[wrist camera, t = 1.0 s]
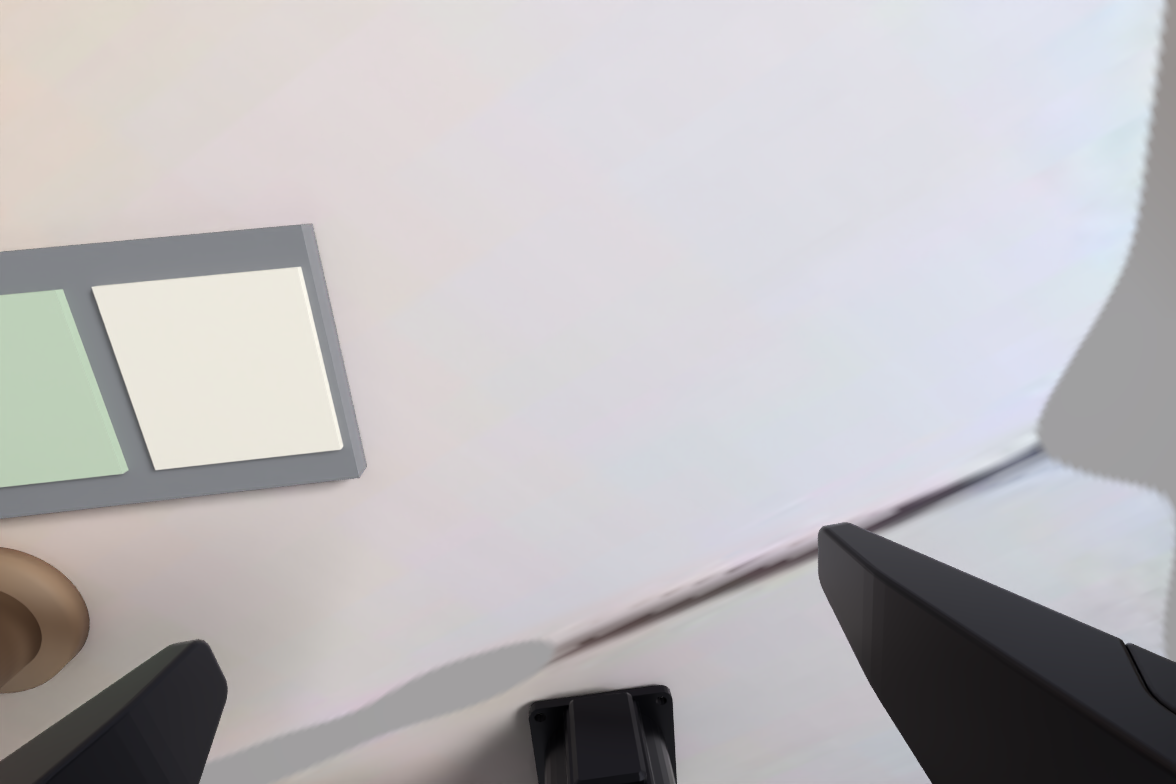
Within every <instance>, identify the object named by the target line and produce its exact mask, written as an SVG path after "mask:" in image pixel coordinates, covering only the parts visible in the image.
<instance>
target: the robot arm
mask: <svg viewBox="0 0 1176 784" xmlns="http://www.w3.org/2000/svg"><path fill="white" fill-rule="evenodd" d="M818 574H819V580H820V583H821V586H822V589H823V591H824V593H825V595H826V597H827V599H828V601H829V603H830V605H831V607H832V609H833V611H834V613H835V615H836V617H837V619H838V621H839V623H840V625H841V627H842V629H843V631H844V633H845V635H846V637H847V639H848V641H849V644H850V646H851V648H852V650H853V652H854V654H855V656H856V658H857V660H858V662H859V664H860V666H861V668H862V670H863V672H864V674H865V675H866V677H867V679H868V681H869V683H870V685H871V687H872V688H873V690H874V692H875V693H876V695H877V697H878V698H879V700H880V702H881V703H882V705H883V706H884V708H885V709H886V711H887V713H888V714H889V716H890V717H891V719H892V721H893V722H894V724H895V725H896V727H897V729H898V730H899V732H900V733H901V735H902V736H903V738H904V740H905V741H906V743H907V744H908V746H909V748H910V749H911V751H912V752H913V754H914V755H915V757H916V759H917V760H918V762H919V763H920V765H921V767H922V768H923V770H924V771H925V773H926V775H927V776H928V778H929V779H930V781H931V782H932V784H1176V662H1173V661H1171V660H1169V659H1166V658H1164V657H1162V656H1159V655H1157V654H1155V653H1153V652H1150V651H1148V650H1146V649H1143V648H1141V647H1139V646H1136V645H1134V644H1131V643H1127V644H1126V645H1125V644H1124V642H1123V641H1122V640H1121V639H1119V638H1117V637H1115V636H1113V635H1110V634H1108V633H1106V632H1103V631H1101V630H1099V629H1096V628H1094V627H1092V626H1089V625H1087V624H1085V623H1082V622H1080V621H1078V620H1075V619H1073V618H1071V617H1068V616H1066V615H1064V614H1061V613H1059V612H1057V611H1054V610H1052V609H1050V608H1047V607H1045V606H1043V605H1040V604H1038V603H1036V602H1033V601H1031V600H1029V599H1026V598H1024V597H1022V596H1019V595H1017V594H1015V593H1012V592H1010V591H1008V590H1005V589H1003V588H1001V587H998V586H996V585H994V584H991V583H989V582H987V581H984V580H982V579H980V578H977V577H975V576H973V575H970V574H968V573H966V572H963V571H961V570H959V569H956V568H954V567H952V566H949V565H947V564H945V563H942V562H940V561H937V560H935V559H933V558H931V557H928V556H926V555H923V554H921V553H919V552H917V551H914V550H912V549H910V548H907V547H905V546H902V545H900V544H898V543H896V542H893V541H891V540H888V539H886V538H884V537H882V536H879V535H877V534H874V533H872V532H870V531H867V530H865V529H863V528H860V527H858V526H856V525H853V524H851V523H847V522H844V523H838V524H832V525H827V526H823V527H822V528H821V529H820V530H819V533H818ZM227 692H228V688H227V681H226V679H225V677H224V675H223V673H222V670H221V668H220V666H219V664H218V662H217V660H216V658H215V656H214V654H213V652H212V650H211V648H210V646H209V645H208V643H206V642H205V641H204V640H199V639H196V640H191V641H185V642H180V643H175V644H172V645H169V646H168V647H166V648H164V649H163V650H162V651H160V652H159V653H157V654H156V655H154V656H153V657H151V658H150V659H148V660H147V661H146V662H144V663H143V664H141V665H140V666H138V667H137V668H135V669H134V670H132V671H131V672H130V673H128V674H127V675H125V676H124V677H122V678H121V679H119V680H118V681H116V682H115V683H114V684H112V685H111V686H109V687H108V688H106V689H105V690H103V691H102V692H100V693H99V694H98V695H96V696H95V697H93V698H92V699H90V700H89V701H87V702H86V703H84V704H83V705H82V706H80V707H79V708H77V709H76V710H74V711H73V712H71V713H70V714H68V715H67V716H66V717H64V718H63V719H61V720H60V721H58V722H57V723H55V724H54V725H52V726H51V727H50V728H48V729H47V730H45V731H44V732H42V733H41V734H39V735H38V736H36V737H35V738H34V739H32V740H31V741H29V742H28V743H26V744H25V745H23V746H22V747H20V748H19V749H18V750H16V751H15V752H13V753H12V754H10V755H9V756H7V757H6V758H4V759H3V760H2V761H0V784H199V781H200V779H201V776H202V773H203V770H204V767H205V763H206V760H207V757H208V754H209V751H210V748H211V745H212V742H213V739H214V736H215V733H216V730H217V727H218V724H219V721H220V718H221V715H222V712H223V709H224V706H225V703H226V699H227ZM661 696H662V698H658V697H661ZM538 713H543V714H541V715H538ZM529 722H530V729H531V735H532V742H533V748H534V755H535V762H536V768H537V775H538V781H539V784H677V776H676V758H675V739H674V720H673V702H672V696H671V693H670V689H669V688H668V687H666V686H664V685H657V686H650V687H643V688H635V689H628V690H621V691H613V692H606V693H599V694H591V695H584V696H576V697H569V698H562V699H554V700H547V701H540V702H536V703H534V704H532V705H531V707H530V708H529Z"/></svg>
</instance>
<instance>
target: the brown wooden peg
mask: <svg viewBox="0 0 1176 784" xmlns="http://www.w3.org/2000/svg"><path fill="white" fill-rule="evenodd" d="M88 632H89V615H88V610H87V607H86V604H85V602H84V600H83V598H82V596H81V594H80V593H79V591H78V590H77V588H76V587H75V586H74V585H73V584H72V582H71V581H70V580H69V579H68V578H67V577H66V576H64V575H63V574H62V573H61V572H60V571H58V570H57V569H56V568H54V567H53V566H51V565H50V564H48V563H46V562H45V561H43V560H41V559H39V558H36V557H34V556H32V555H29V554H27V553H24V552H21V551H17V550H13V549H8V548H2V547H0V693H14V692H20V691H25V690H28V689H32V688H35V687H37V686H39V685H41V684H43V683H45V682H47V681H48V680H50V679H51V678H52V677H54V676H55V675H56V674H57V673H58V672H59V671H60V670H61V669H62V668H63V667H64V666H65V665H66V664H67V663H68V662H69V661H71V660H72V659H73V658H74V657H75V656H76V655H77V653H78V652H79V651H80V650H81V649H82V647H83V645H84V644H85V642H86V639H87V636H88Z"/></svg>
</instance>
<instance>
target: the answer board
mask: <svg viewBox="0 0 1176 784" xmlns="http://www.w3.org/2000/svg"><path fill="white" fill-rule="evenodd" d="M366 467H367V464H366V460H365V456H364V451H363V447H362V442H361V438H360V433H359V429H358V424H357V420H356V415H355V411H354V407H353V402H352V398H351V393H350V389H349V384H348V380H347V375H346V371H345V366H344V362H343V358H342V353H341V349H340V344H339V340H338V335H337V331H336V326H335V322H334V317H333V313H332V309H331V304H330V300H329V295H328V291H327V286H326V282H325V277H324V273H323V269H322V264H321V260H320V255H319V251H318V246H317V242H316V237H315V233H314V228H313V224H301V225H290V226H279V227H268V228H257V229H246V230H235V231H224V232H213V233H202V234H191V235H180V236H169V237H158V238H147V239H136V240H125V241H114V242H103V243H92V244H81V245H70V246H59V247H48V248H37V249H26V250H15V251H4V252H0V519H2V518H11V517H20V516H28V515H37V514H46V513H55V512H64V511H72V510H81V509H90V508H99V507H108V506H116V505H125V504H134V503H143V502H151V501H160V500H169V499H178V498H187V497H195V496H204V495H213V494H222V493H231V492H239V491H248V490H257V489H266V488H274V487H283V486H292V485H301V484H310V483H318V482H327V481H336V480H345V479H354V478H360V476H361V475H362V473H363V472H364V470H365V469H366Z"/></svg>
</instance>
